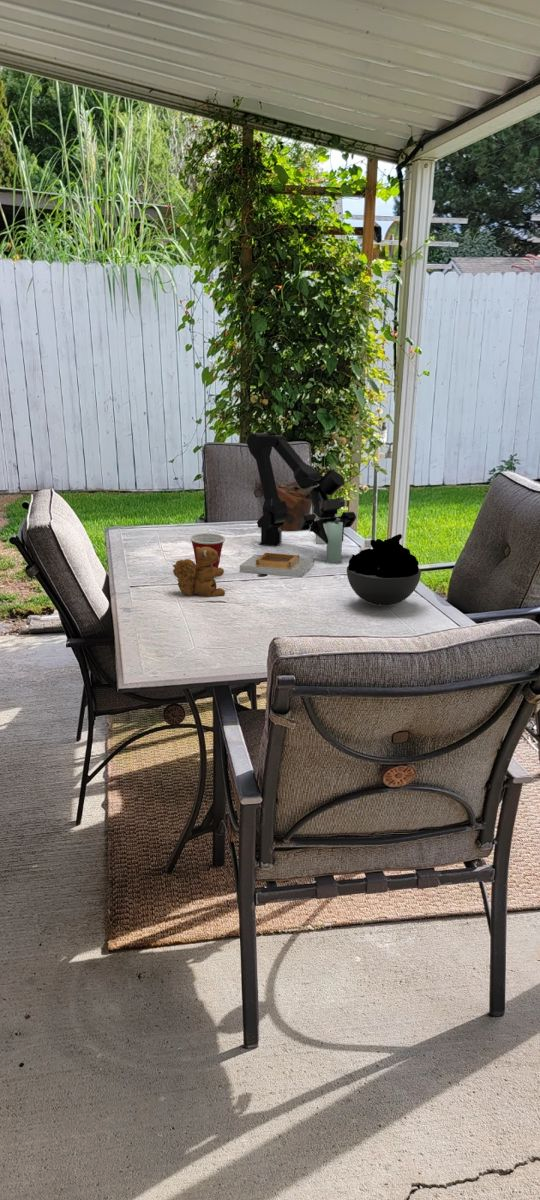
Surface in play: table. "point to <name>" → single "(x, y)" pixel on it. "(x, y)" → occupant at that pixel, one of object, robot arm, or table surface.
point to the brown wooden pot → (294, 504)
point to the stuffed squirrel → (199, 574)
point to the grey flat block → (277, 564)
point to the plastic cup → (208, 543)
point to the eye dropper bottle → (366, 544)
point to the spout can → (334, 541)
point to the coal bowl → (384, 572)
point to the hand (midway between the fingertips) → (334, 542)
